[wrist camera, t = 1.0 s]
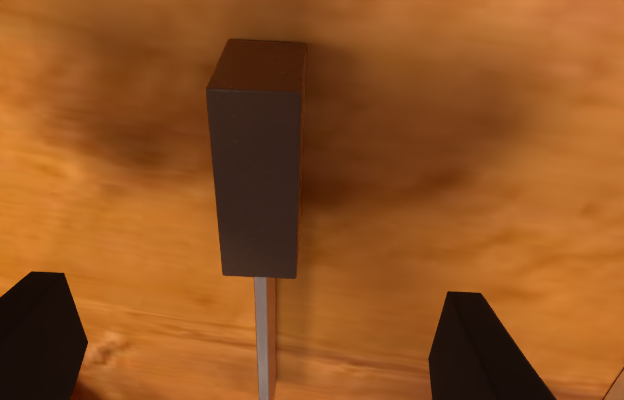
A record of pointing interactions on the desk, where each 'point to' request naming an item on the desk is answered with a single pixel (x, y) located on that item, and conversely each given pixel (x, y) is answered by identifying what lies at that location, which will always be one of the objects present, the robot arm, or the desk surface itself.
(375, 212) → the desk surface
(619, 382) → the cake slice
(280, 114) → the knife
